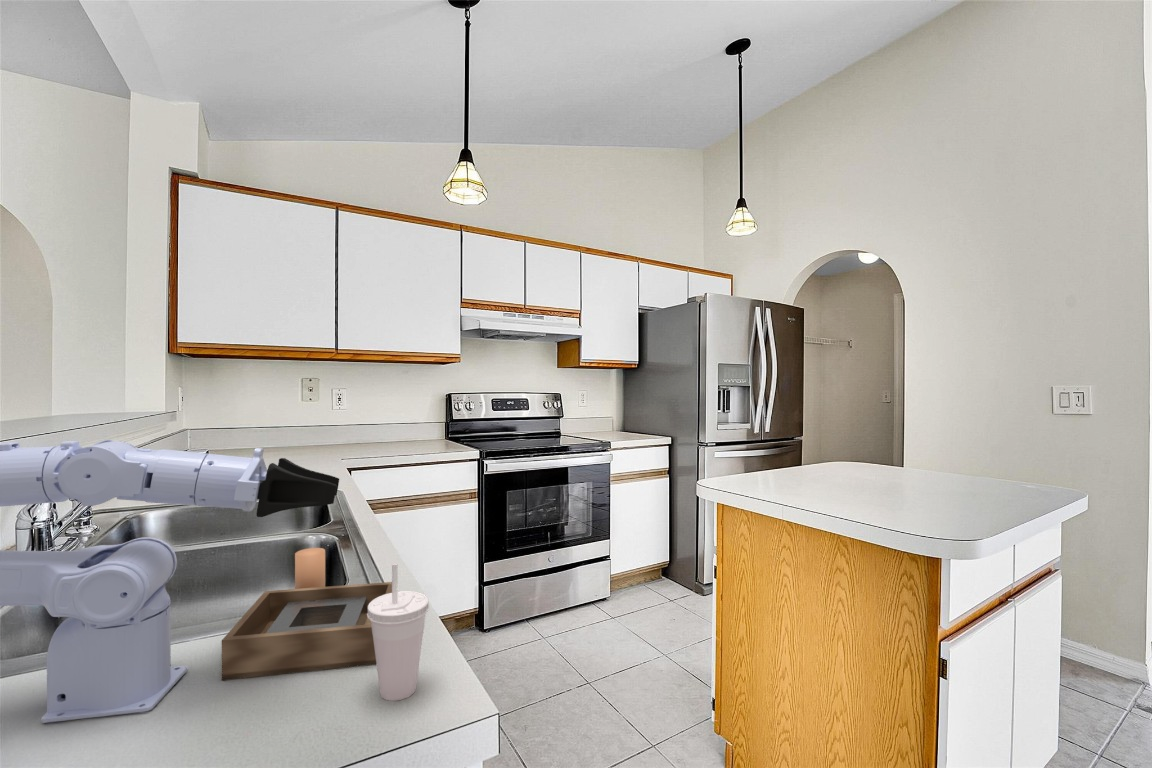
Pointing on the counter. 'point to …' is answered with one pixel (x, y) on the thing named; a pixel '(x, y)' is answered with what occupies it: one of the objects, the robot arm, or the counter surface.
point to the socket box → (298, 636)
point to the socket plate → (321, 614)
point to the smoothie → (398, 638)
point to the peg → (310, 568)
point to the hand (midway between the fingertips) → (336, 490)
